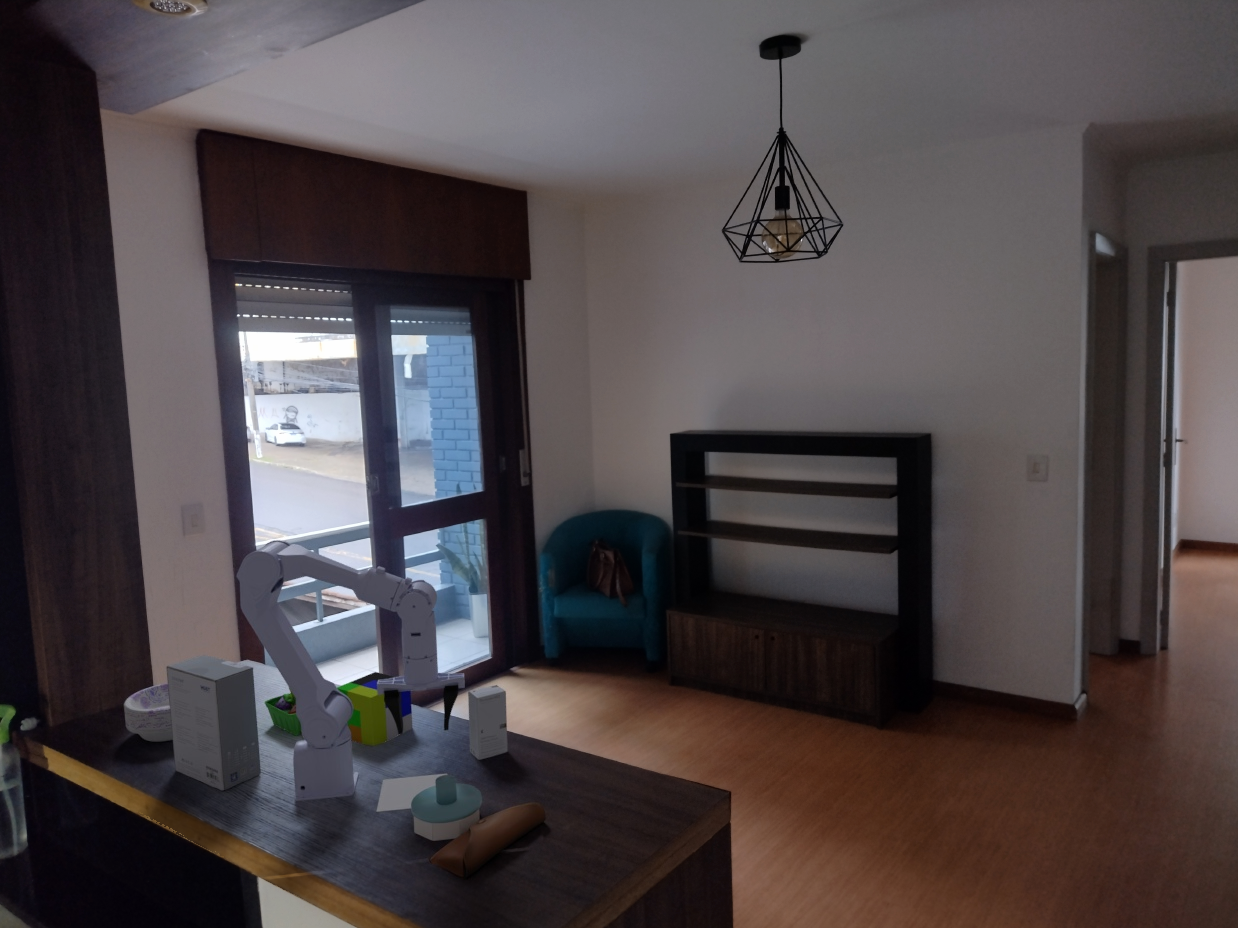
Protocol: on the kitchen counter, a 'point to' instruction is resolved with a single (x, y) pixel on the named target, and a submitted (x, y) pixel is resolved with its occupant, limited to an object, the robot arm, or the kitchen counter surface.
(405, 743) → the kitchen counter surface
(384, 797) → the plate
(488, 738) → the skincare box
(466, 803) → the lid
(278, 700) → the fruit basket
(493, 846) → the sunglasses case
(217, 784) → the hard drive box
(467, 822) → the bowl
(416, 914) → the kitchen counter surface
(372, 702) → the puzzle toy
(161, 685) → the paper bowls
